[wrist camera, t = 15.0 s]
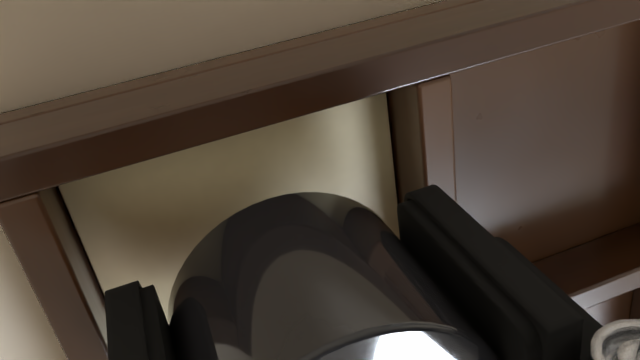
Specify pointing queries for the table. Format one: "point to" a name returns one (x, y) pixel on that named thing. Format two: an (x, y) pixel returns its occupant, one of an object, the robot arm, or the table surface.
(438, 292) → the dark grey cylinder
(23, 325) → the table surface
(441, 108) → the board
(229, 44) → the table surface
